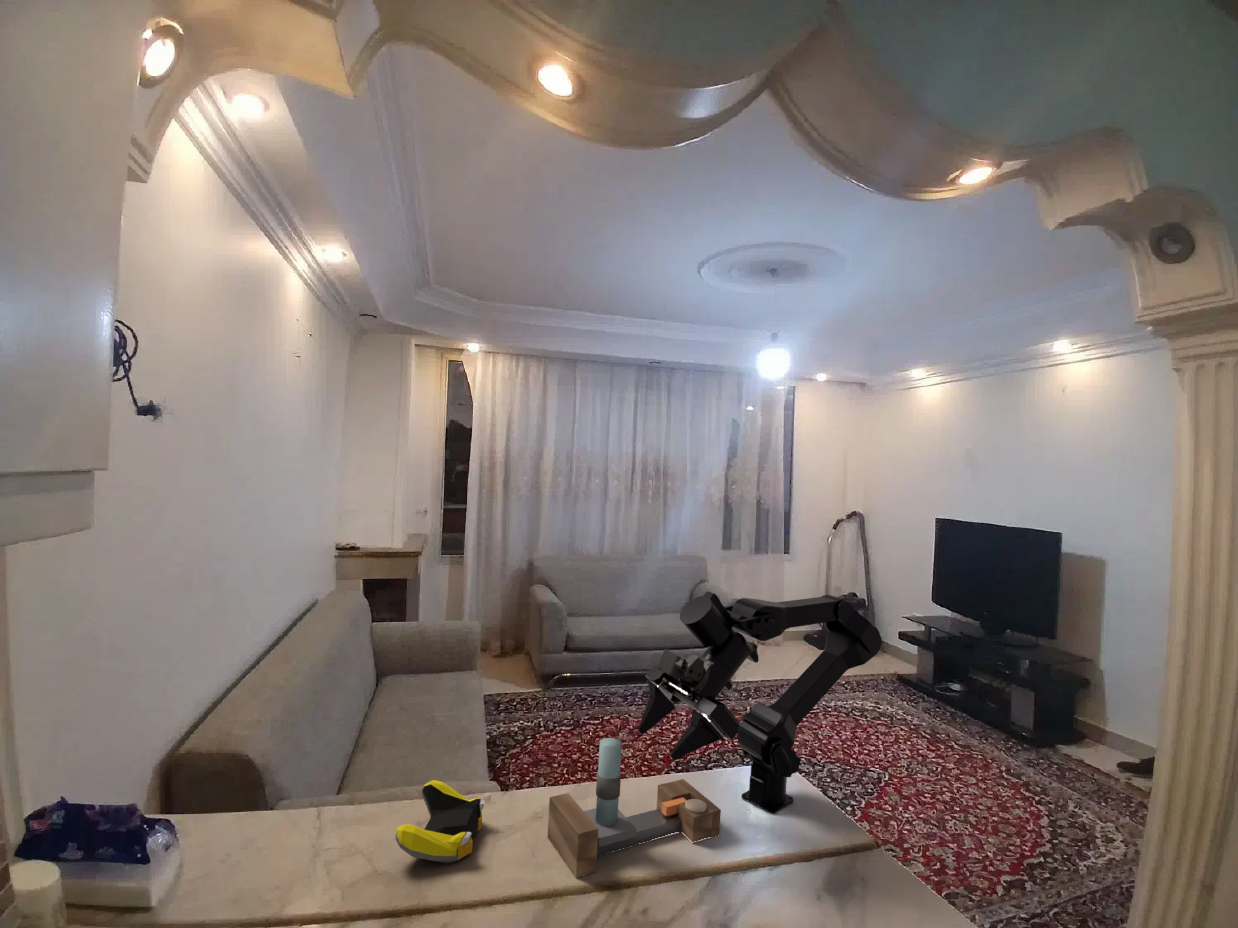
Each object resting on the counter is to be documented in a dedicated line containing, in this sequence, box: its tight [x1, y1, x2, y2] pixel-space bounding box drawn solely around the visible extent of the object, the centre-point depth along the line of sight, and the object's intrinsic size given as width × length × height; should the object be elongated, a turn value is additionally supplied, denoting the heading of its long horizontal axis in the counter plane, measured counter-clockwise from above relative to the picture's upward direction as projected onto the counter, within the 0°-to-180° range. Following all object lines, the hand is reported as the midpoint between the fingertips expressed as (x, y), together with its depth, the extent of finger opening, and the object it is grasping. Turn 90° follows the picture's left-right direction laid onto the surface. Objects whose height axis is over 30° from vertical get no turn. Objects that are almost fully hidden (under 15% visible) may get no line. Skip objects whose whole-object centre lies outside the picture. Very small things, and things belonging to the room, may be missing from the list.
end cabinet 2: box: [656, 778, 722, 842], centre depth 101 cm, size 5×10×4 cm, turn 29°
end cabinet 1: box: [547, 792, 598, 879], centre depth 91 cm, size 3×10×6 cm, turn 29°
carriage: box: [583, 737, 636, 847], centre depth 94 cm, size 6×7×13 cm
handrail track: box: [597, 808, 682, 857], centre depth 96 cm, size 22×4×2 cm, turn 119°
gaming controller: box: [395, 779, 486, 864], centre depth 93 cm, size 15×6×10 cm
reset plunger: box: [661, 798, 687, 816], centre depth 100 cm, size 4×1×1 cm, turn 119°
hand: (655, 744), depth 98 cm, fingers open, 9 cm apart
